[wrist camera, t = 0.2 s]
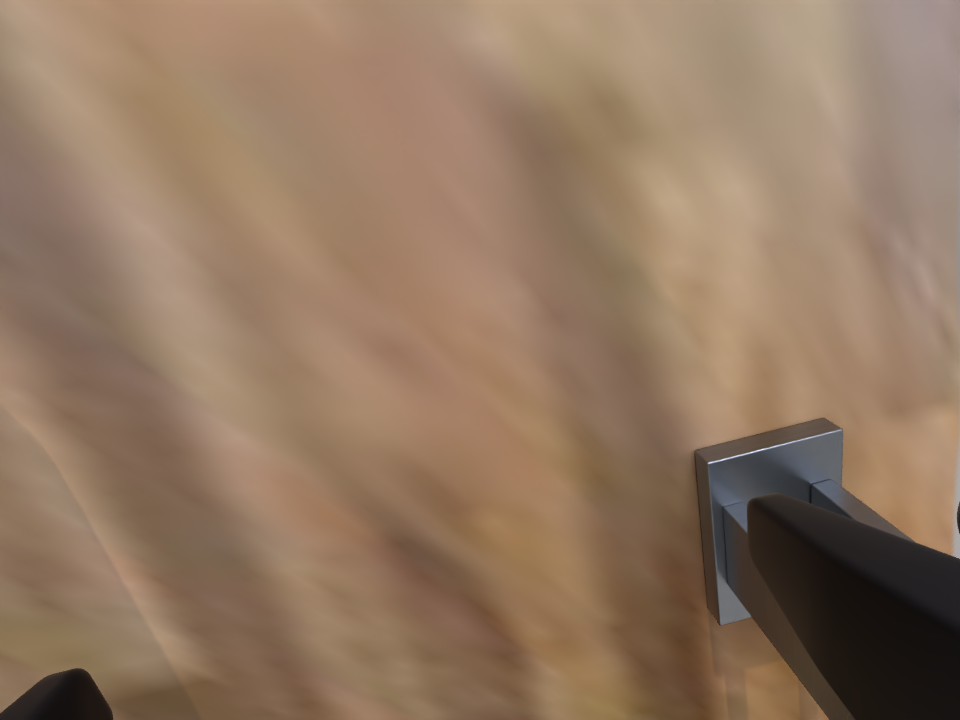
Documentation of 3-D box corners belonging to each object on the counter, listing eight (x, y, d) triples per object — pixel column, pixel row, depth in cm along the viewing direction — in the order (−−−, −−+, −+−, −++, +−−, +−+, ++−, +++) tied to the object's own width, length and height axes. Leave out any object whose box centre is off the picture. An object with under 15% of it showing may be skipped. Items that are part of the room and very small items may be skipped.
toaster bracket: (694, 449, 25) (924, 682, 14) (824, 417, 25) (1152, 619, 14) (707, 607, 28) (904, 900, 17) (822, 576, 28) (1090, 845, 17)
